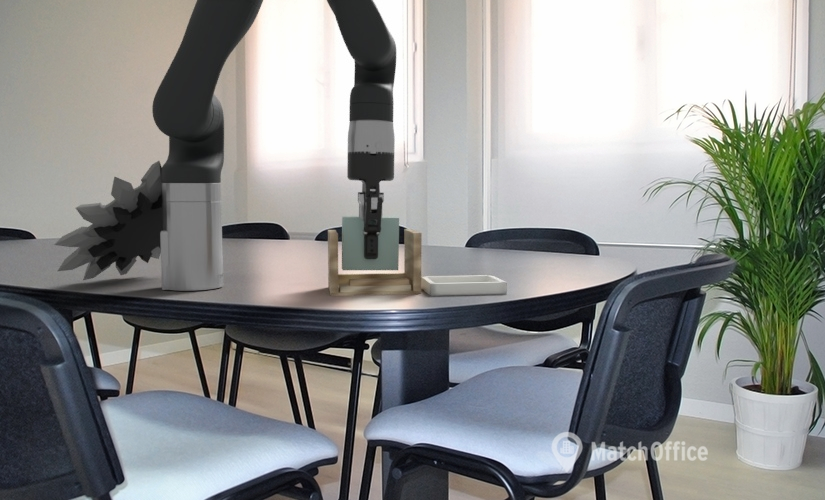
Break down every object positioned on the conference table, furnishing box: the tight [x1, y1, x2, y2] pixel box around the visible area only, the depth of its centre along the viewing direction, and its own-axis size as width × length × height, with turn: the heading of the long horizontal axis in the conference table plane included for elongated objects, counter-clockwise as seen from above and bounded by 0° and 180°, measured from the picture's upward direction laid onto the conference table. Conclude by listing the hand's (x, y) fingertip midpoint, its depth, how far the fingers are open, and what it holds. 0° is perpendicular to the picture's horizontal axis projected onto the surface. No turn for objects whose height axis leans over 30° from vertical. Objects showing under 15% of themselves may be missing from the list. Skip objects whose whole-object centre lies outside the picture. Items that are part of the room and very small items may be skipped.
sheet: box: [341, 215, 400, 271], centre depth 109 cm, size 9×3×8 cm, turn 99°
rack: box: [327, 228, 422, 297], centre depth 108 cm, size 14×10×10 cm
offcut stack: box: [339, 278, 411, 292], centre depth 105 cm, size 11×3×2 cm, turn 99°
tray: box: [421, 274, 508, 297], centre depth 107 cm, size 12×9×2 cm
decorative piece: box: [53, 160, 163, 281], centre depth 117 cm, size 30×4×30 cm
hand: (369, 257), depth 109 cm, fingers closed on sheet, 3 cm apart
